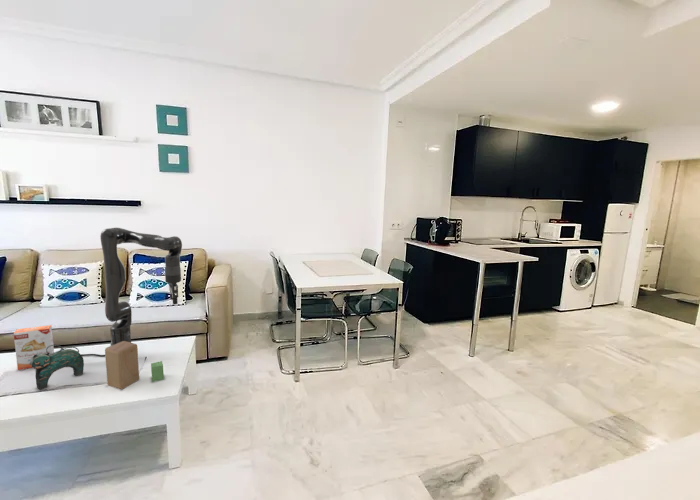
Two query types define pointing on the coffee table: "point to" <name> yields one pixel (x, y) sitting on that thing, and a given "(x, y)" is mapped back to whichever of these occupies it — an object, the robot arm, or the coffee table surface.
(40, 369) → the ceramic cat
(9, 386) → the coffee table surface
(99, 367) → the coffee table surface
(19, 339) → the cracker box
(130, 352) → the wooden block
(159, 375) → the green block
